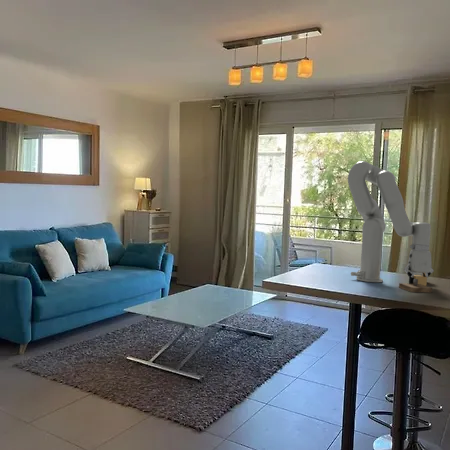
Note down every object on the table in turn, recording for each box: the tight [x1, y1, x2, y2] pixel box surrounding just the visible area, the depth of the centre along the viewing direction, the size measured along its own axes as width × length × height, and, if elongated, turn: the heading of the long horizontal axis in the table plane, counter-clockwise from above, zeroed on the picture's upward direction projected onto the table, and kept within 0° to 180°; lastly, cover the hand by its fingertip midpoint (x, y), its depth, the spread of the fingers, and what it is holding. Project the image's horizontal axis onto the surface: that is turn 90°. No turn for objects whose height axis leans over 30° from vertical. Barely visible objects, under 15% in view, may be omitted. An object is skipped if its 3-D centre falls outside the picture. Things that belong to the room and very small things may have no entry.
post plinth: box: [398, 279, 433, 293], centre depth 207 cm, size 10×10×5 cm
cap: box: [414, 275, 428, 286], centre depth 217 cm, size 6×6×5 cm
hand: (417, 285), depth 218 cm, fingers closed on cap, 5 cm apart
